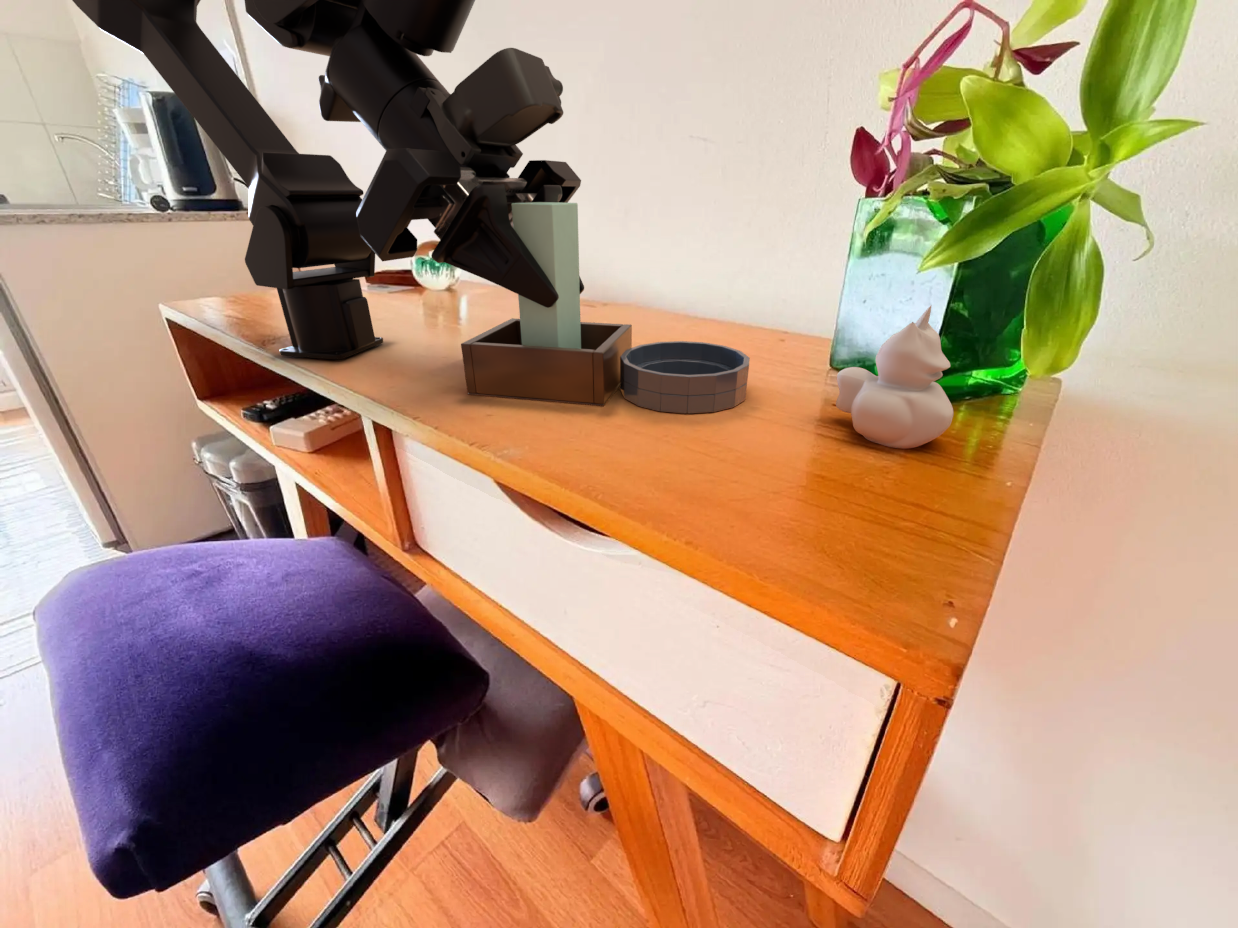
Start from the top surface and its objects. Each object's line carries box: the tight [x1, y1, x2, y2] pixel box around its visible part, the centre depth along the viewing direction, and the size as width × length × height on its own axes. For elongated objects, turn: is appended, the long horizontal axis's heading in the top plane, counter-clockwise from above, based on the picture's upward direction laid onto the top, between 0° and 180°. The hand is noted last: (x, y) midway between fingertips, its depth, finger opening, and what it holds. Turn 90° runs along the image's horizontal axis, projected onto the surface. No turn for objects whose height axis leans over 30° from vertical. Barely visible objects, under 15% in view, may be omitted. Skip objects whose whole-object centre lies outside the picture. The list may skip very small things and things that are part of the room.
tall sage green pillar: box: [512, 202, 581, 349], centre depth 38 cm, size 3×4×12 cm
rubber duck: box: [835, 305, 954, 450], centre depth 31 cm, size 5×7×8 cm
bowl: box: [619, 340, 751, 415], centre depth 38 cm, size 9×9×3 cm
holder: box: [460, 317, 633, 407], centre depth 40 cm, size 10×8×4 cm
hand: (567, 298), depth 38 cm, fingers closed on tall sage green pillar, 3 cm apart
